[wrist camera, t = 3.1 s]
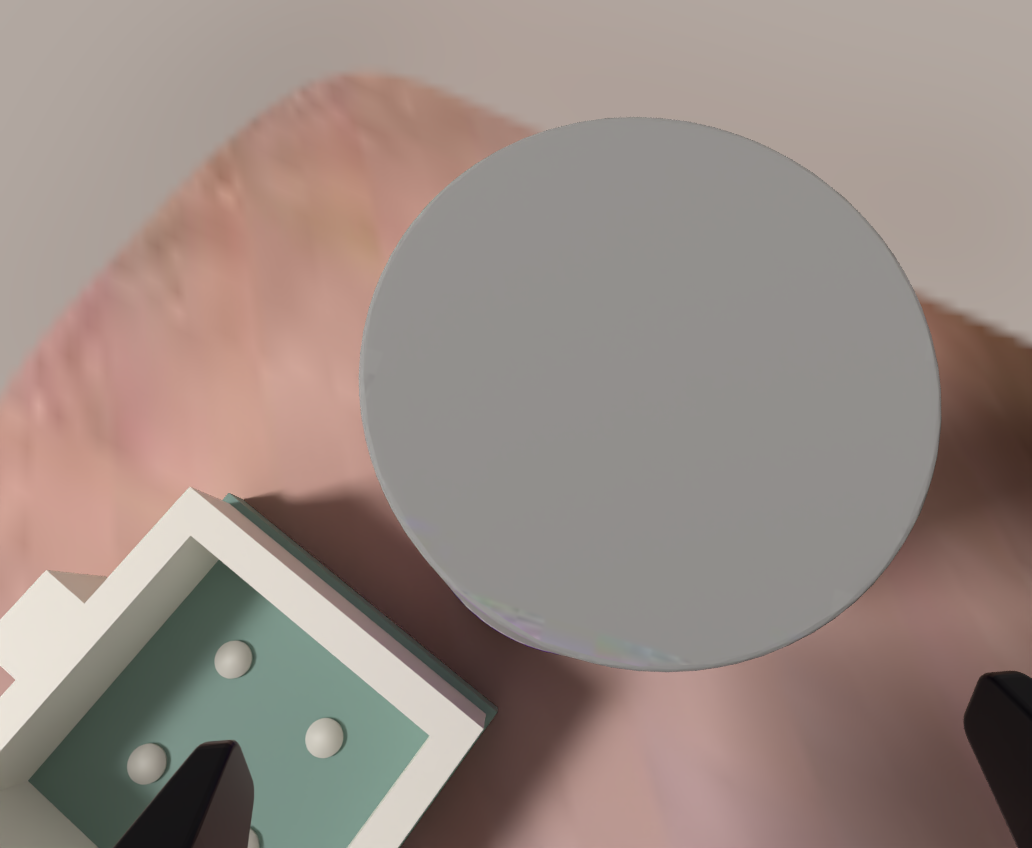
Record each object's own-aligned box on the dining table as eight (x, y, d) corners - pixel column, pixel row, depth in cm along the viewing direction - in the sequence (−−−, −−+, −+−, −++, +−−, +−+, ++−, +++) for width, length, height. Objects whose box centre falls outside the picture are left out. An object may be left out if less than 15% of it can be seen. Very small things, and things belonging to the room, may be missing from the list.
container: (628, 641, 19) (1000, 709, 5) (452, 633, 19) (303, 677, 5) (628, 469, 21) (928, 115, 6) (463, 462, 21) (371, 86, 6)
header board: (497, 707, 19) (496, 727, 15) (261, 1034, 17) (201, 1139, 14) (215, 477, 20) (158, 448, 17) (-32, 754, 18) (-153, 785, 15)
